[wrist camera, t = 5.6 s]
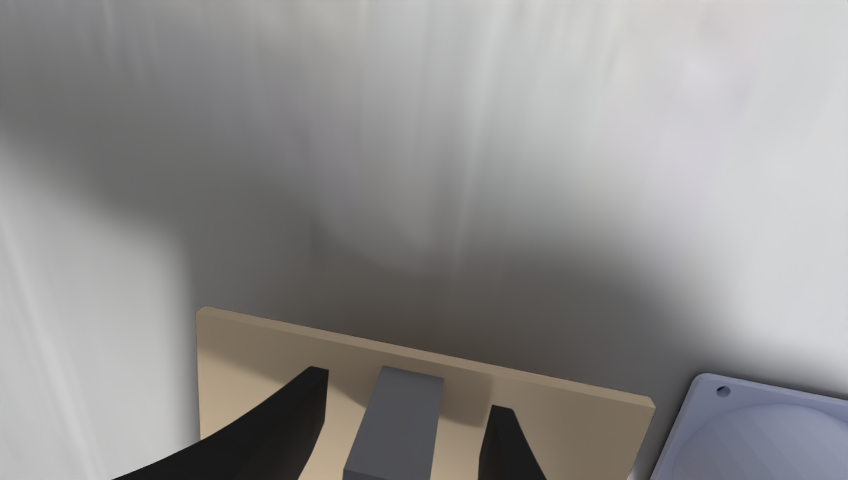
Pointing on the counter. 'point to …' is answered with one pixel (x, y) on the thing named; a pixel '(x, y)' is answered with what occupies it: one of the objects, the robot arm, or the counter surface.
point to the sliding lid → (411, 404)
